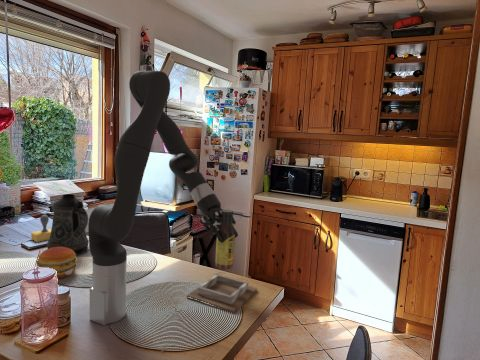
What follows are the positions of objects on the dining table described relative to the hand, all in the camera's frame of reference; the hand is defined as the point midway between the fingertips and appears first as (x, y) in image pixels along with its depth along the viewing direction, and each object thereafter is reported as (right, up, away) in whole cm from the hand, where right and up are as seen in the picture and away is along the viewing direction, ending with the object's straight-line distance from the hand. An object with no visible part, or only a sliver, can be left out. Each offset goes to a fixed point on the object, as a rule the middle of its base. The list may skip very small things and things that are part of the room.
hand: (230, 239), depth 113 cm
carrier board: (-3, -20, +4) cm, 20 cm away
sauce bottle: (-2, -10, +2) cm, 11 cm away
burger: (-65, -15, +12) cm, 68 cm away
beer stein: (-72, -11, +36) cm, 81 cm away
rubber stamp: (-91, -9, +49) cm, 104 cm away
